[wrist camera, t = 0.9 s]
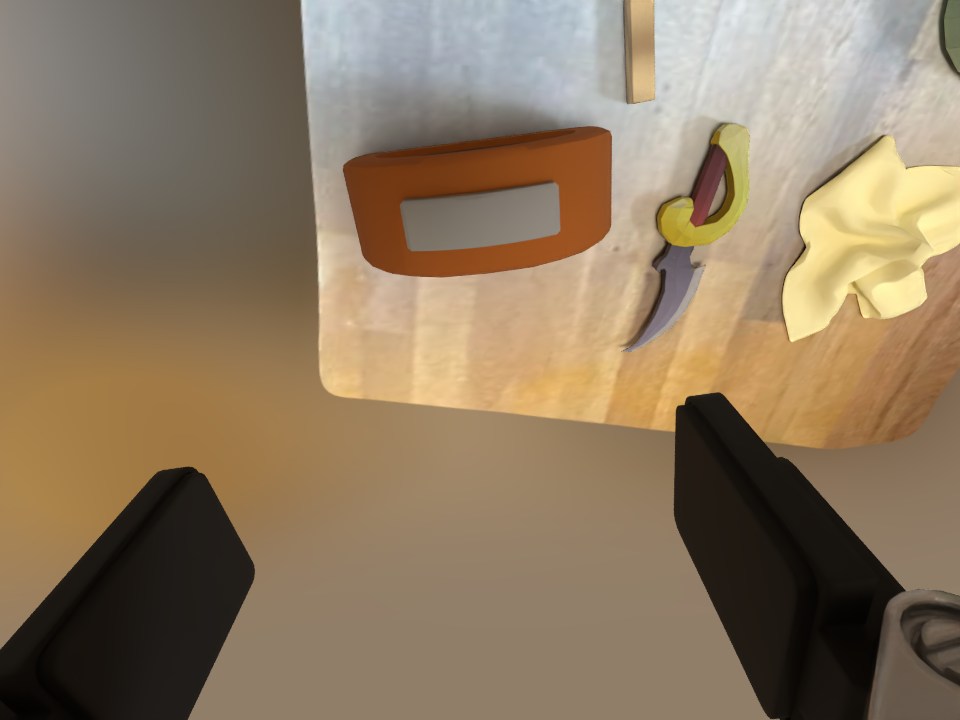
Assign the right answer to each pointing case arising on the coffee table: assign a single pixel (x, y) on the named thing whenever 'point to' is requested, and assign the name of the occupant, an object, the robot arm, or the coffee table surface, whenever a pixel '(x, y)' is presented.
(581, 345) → the coffee table surface
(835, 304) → the cloth
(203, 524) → the robot arm
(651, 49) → the wooden block
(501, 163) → the orange oval container
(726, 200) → the knife
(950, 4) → the bowl
